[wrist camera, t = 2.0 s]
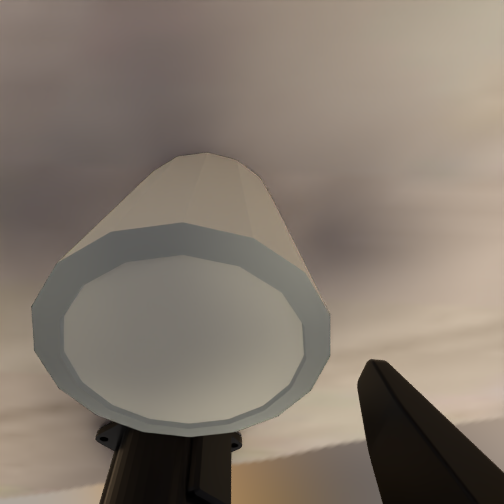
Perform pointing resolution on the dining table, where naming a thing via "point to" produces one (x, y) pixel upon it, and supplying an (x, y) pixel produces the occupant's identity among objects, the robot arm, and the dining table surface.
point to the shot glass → (185, 306)
